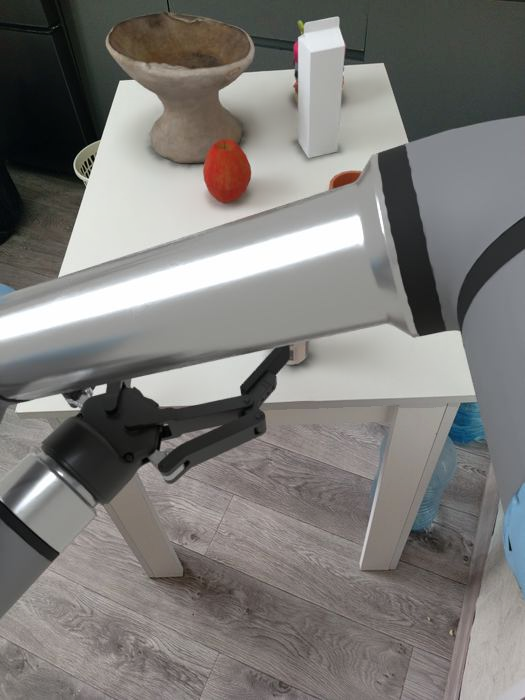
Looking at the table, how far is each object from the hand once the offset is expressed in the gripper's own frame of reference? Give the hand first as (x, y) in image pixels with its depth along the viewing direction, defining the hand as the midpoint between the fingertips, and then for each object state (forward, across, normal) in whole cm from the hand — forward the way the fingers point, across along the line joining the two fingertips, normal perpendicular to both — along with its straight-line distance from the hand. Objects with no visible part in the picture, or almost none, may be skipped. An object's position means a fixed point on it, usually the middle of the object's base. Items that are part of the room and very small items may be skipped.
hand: (232, 317), depth 52 cm
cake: (+67, -34, -17) cm, 77 cm away
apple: (+31, -29, -17) cm, 46 cm away
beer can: (+10, 0, -17) cm, 20 cm away
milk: (+52, -24, -17) cm, 60 cm away
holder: (+42, -10, -17) cm, 46 cm away
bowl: (+42, -46, -17) cm, 65 cm away
